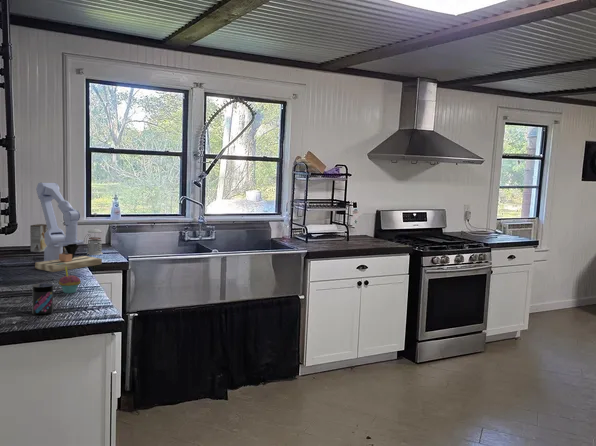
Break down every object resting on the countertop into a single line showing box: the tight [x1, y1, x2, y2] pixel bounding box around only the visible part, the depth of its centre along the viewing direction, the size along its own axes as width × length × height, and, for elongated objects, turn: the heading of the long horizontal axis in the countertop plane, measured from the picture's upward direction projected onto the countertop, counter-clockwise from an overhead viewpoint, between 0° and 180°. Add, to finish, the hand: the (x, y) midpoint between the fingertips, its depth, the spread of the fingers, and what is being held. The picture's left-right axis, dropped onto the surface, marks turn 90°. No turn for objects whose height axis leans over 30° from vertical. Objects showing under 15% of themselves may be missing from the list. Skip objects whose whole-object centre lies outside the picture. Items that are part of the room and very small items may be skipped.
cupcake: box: [58, 265, 82, 294], centre depth 219 cm, size 9×8×12 cm
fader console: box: [34, 255, 103, 273], centre depth 274 cm, size 14×30×3 cm, turn 152°
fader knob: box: [59, 252, 72, 262], centre depth 272 cm, size 5×4×4 cm
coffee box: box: [29, 223, 48, 253], centre depth 316 cm, size 9×6×16 cm
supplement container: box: [31, 282, 54, 317], centre depth 186 cm, size 7×7×10 cm
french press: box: [83, 212, 104, 256], centre depth 315 cm, size 10×12×25 cm
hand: (71, 258), depth 275 cm, fingers closed
